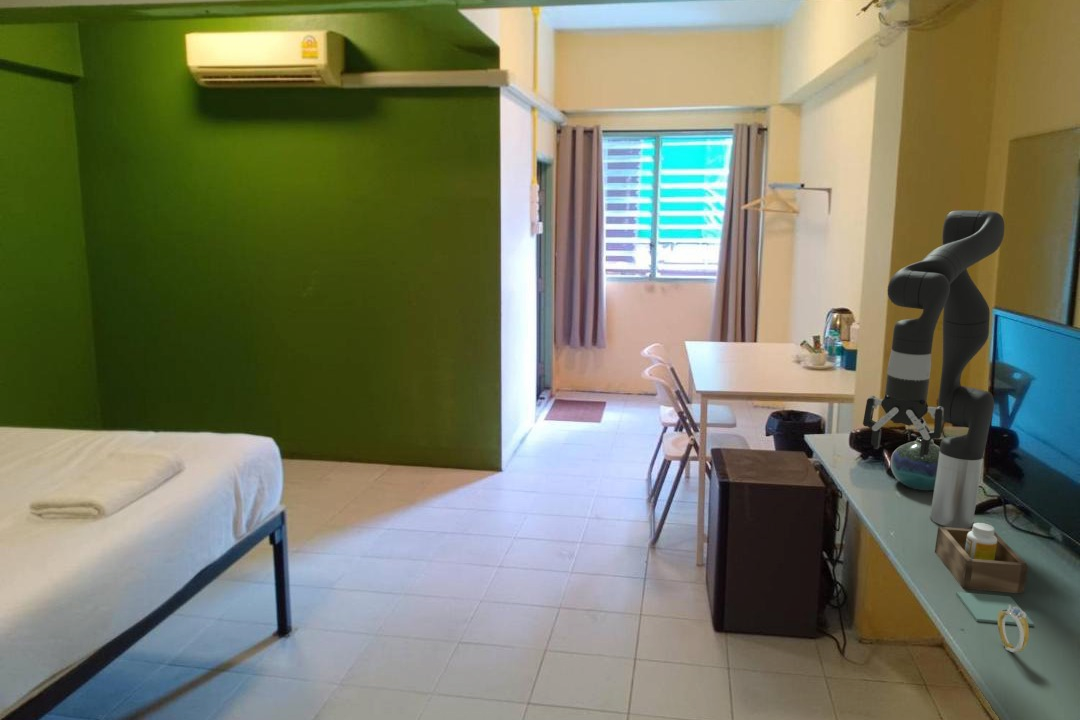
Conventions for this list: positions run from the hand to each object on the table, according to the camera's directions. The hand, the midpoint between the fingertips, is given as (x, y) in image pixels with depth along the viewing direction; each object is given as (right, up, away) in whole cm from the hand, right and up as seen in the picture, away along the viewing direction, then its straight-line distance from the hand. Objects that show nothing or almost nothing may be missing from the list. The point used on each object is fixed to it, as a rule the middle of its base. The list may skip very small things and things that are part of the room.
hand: (899, 451), depth 158 cm
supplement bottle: (+20, -26, +8) cm, 34 cm away
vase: (+31, -16, +56) cm, 65 cm away
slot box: (+20, -26, +8) cm, 34 cm away
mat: (+15, -29, -7) cm, 34 cm away
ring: (+10, -32, -20) cm, 39 cm away
